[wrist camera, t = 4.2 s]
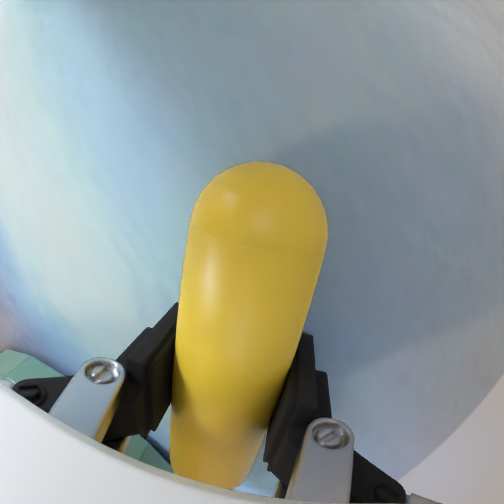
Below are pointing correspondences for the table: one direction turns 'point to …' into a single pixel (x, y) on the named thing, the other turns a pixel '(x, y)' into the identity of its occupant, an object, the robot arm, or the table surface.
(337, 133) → the table surface
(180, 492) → the robot arm
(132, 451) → the green round dish
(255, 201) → the yellow rounded capsule
